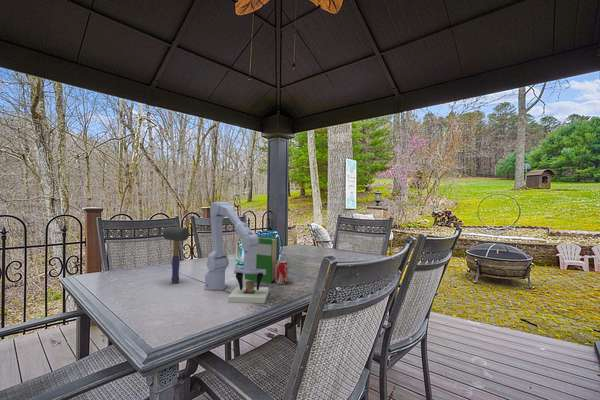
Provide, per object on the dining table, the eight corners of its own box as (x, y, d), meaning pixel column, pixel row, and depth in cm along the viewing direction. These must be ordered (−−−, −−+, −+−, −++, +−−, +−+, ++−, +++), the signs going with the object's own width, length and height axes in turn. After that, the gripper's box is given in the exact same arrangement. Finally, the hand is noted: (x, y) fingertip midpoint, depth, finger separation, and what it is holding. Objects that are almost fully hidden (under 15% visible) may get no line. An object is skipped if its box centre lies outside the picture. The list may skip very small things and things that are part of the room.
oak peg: (244, 298, 126) (245, 283, 126) (246, 295, 130) (246, 280, 130) (252, 298, 126) (253, 283, 126) (254, 296, 130) (254, 281, 130)
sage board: (228, 302, 121) (228, 296, 121) (236, 291, 135) (236, 286, 135) (264, 303, 121) (264, 297, 121) (268, 292, 135) (268, 287, 135)
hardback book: (277, 280, 156) (278, 237, 156) (270, 283, 150) (271, 239, 150) (252, 275, 164) (253, 235, 164) (244, 279, 158) (245, 236, 158)
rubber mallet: (160, 283, 147) (161, 226, 147) (171, 279, 154) (172, 225, 154) (179, 285, 143) (180, 227, 143) (189, 281, 150) (190, 226, 150)
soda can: (283, 285, 146) (283, 263, 146) (272, 283, 150) (272, 261, 150) (290, 282, 152) (290, 260, 152) (280, 280, 156) (280, 259, 156)
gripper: (232, 261, 124) (231, 291, 124) (264, 262, 124) (263, 292, 124) (236, 258, 131) (235, 287, 131) (266, 259, 131) (266, 287, 131)
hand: (249, 289), depth 128 cm, fingers open, 7 cm apart
